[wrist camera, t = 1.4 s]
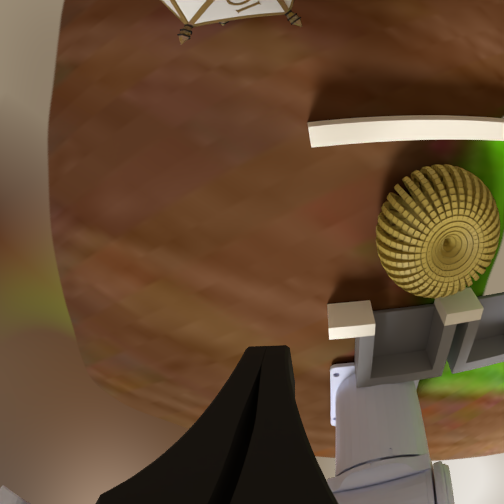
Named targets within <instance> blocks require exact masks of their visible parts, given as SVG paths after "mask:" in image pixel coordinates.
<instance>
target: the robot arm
mask: <svg viewBox="0 0 504 504" xmlns="http://www.w3.org/2000/svg"><path fill="white" fill-rule="evenodd" d="M418 383H419V380H415V381H408V382H401V383H394V384H381V385H375V386H370V387H360V388H357V387H356V377H355V362H353V363H342V364H334V365H332V366H331V367H330V386H331V425H333V426H336V472H335V473H336V474H335V477H333V478H328V479H327V481H326V479H325V477H324V475H323V473H322V471H321V469H320V467H319V464H318V462H317V460H316V458H315V455H314V453H313V451H312V448H311V446H310V443H309V441H308V438H307V435H306V433H305V430H304V427H303V424H302V421H301V418H300V415H299V411H298V408H297V404H296V401H295V380H294V373H293V367H292V360H291V354H290V348H289V347H288V346H286V345H283V346H256V347H248V348H247V349H246V350H245V352H244V354H243V356H242V358H241V359H240V361H239V363H238V364H237V366H236V368H235V369H234V371H233V373H232V374H231V376H230V377H229V379H228V380H227V382H226V383H225V385H224V386H223V388H222V389H221V390H220V392H219V393H218V395H217V396H216V397H215V399H214V400H213V401H212V403H211V404H210V405H209V407H208V408H207V409H206V410H205V412H204V413H203V414H202V415H201V417H200V418H199V419H198V420H197V421H196V422H195V423H194V425H193V426H192V427H191V428H190V429H189V430H188V431H187V432H186V433H185V434H184V435H183V436H182V437H181V438H180V439H179V440H178V441H177V442H176V443H175V444H174V445H173V446H172V447H170V448H169V449H168V450H167V451H166V452H165V453H164V454H162V455H161V456H160V457H159V458H158V459H156V460H155V461H154V462H152V463H151V464H150V465H148V466H147V467H145V468H144V469H143V470H141V471H140V472H138V473H137V474H136V475H134V476H133V477H131V478H130V479H128V480H126V481H125V482H123V483H121V484H119V485H118V486H116V487H114V488H113V489H111V490H109V491H107V492H105V493H103V494H101V495H100V497H99V499H98V500H97V502H96V504H454V497H453V490H452V483H451V477H450V471H449V467H448V465H445V464H442V462H441V461H439V462H436V463H434V464H433V465H432V462H431V459H430V456H429V451H428V445H427V439H426V434H425V429H424V424H423V419H422V414H421V409H420V405H419V400H418V396H417V391H416V389H417V386H418ZM433 467H434V468H433ZM0 504H30V503H28V502H27V501H25V500H24V499H22V498H21V497H19V496H18V495H16V494H15V493H14V492H12V491H11V490H9V489H8V488H7V487H5V486H2V487H1V489H0Z"/></svg>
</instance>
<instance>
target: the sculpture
mask: <svg viewBox="0 0 504 504" xmlns="http://www.w3.org/2000/svg"><path fill="white" fill-rule="evenodd" d="M426 173H427V174H426ZM411 175H412V176H411V177H412V178H411V179H412V180H411V179H410V178H409V177H408V176H406V177H404V178H403V179H402V181H403V182H404V185H405V186H406V188H407V190H408V191H409V192H410V194H411V195H412V197H413V198H412V197H411V196H410V195H409V194H408V193H407V192H406V191H405V190H404V189H403V188H402V187H401V186H400V185H399V184H396V186H395V187H394V189H395V190H396V191H397V192H398V193H399V195H400V196H401V197H402V198H403V199H402V198H401V197H400V196H398V195H395V194H394V193H392V192H390V193H389V194H388V196H387V200H388V202H385V203H383V205H382V207H381V210H382V212H380V214H379V216H378V224H377V226H376V234H377V237H376V245H377V251H378V255H379V258H380V260H381V264H382V266H383V268H384V269H385V270H386V272H387V274H388V276H390V278H391V279H392V280H393V281H394V282H395V283H396V284H397V285H398V286H399V287H401V288H402V289H403V290H406V291H407V292H409V293H412V294H414V295H416V296H421V297H424V298H438V297H447V296H449V295H454V294H456V293H457V292H458V291H459V292H461V291H463V290H465V287H466V286H465V284H466V285H467V286H468V287H469V286H471V285H472V284H473V283H472V280H471V277H470V275H471V276H472V277H473V278H474V280H475V281H477V280H478V279H479V278H480V277H479V276H478V274H477V273H476V272H475V271H478V273H480V274H483V273H484V272H485V271H486V269H485V267H488V266H489V265H490V263H491V258H492V259H493V257H494V255H495V252H496V251H495V250H496V249H497V246H498V242H499V241H498V239H499V236H500V219H499V212H498V208H497V206H496V202H495V199H494V198H493V196H492V195H491V192H490V190H489V189H488V187H486V185H485V184H484V183H483V182H482V181H481V180H480V179H479V178H478V177H476V176H475V175H474V174H473V173H471V172H470V171H467V170H464V169H463V168H461V167H458V166H452V165H449V164H443V165H440V164H435V165H432V166H431V167H429V166H427V167H426V166H425V167H424V168H423V167H422V168H421V170H420V171H418V170H415V171H413V172H412V173H411ZM426 175H427V176H428V177H427V179H426ZM441 176H442V177H441ZM461 177H462V178H461ZM418 182H420V183H421V184H420V185H421V188H420V185H419V183H418ZM432 184H433V185H432ZM463 184H464V185H463ZM432 187H433V188H432ZM421 189H422V190H421ZM421 191H422V192H421ZM438 196H439V197H438ZM413 199H414V200H415V201H416V202H415V201H414V200H413ZM400 204H402V205H403V206H406V207H403V206H402V205H400ZM432 206H433V207H432ZM389 209H394V210H393V211H391V210H389ZM396 210H397V211H396ZM476 213H477V214H478V215H477V214H476ZM426 214H427V215H426ZM386 217H387V218H386ZM400 217H401V218H400ZM385 218H386V219H385ZM477 222H478V223H477ZM392 224H393V225H392ZM411 225H412V226H411ZM392 247H393V249H392ZM400 249H401V250H400ZM463 255H464V256H463ZM468 272H469V273H470V275H469V273H468Z"/></svg>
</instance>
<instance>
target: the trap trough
mask: <svg viewBox="0 0 504 504" xmlns="http://www.w3.org/2000/svg"><path fill="white" fill-rule="evenodd" d="M307 123H308V129H309V136H310V142H311V147H321V146H331V145H342V144H354V143H367V142H383V141H404V140H451V139H454V140H499V141H504V118H492V117H476V116H449V115H406V116H378V117H361V118H347V119H335V120H324V121H315V122H307ZM327 309H328V326H329V340H330V339H342V338H353V337H355V359H354V362H355V377H356V387H357V388H360V387H370V386H375V385H381V384H394V383H401V382H408V381H415V380H421V379H427V378H432V377H438V376H441V375H442V372H443V369H444V366H445V363H446V360H447V361H448V364H449V366H450V369H451V372H452V374H453V373H458V372H463V371H467V370H471V369H476V368H480V367H484V366H488V365H492V364H496V363H500V362H503V361H504V292H502V293H497V294H492V295H486V296H480V297H477V296H476V295H475V293H474V292H473V290H472V289H471V287H470V288H465V290H463V291H461V292H459V291H458V292H457V293H456V294H454V295H449V296H447V297H438V298H435V301H434V304H427V305H420V306H412V307H404V308H395V309H387V310H378V311H372V307H371V302H370V300H366V301H356V302H345V303H334V304H327Z"/></svg>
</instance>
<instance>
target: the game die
mask: <svg viewBox="0 0 504 504" xmlns="http://www.w3.org/2000/svg"><path fill="white" fill-rule="evenodd" d="M161 1H162V2H163V3H164V4H165V5H166V6H167V7H168V8H169V9H170V10H171V11H172V12H173V13H174V14H175V15H176V16H177V17H178V18H179V19H180V20H181V21H182V22H183V23H184V24H185V26H184V27H183V29H180V31H181V32H180V34H178V36H179V39H180V43H181V44H183V43H184V42H185V41H187V40H188V39H190V34H191V35H192V31H191V29H192V28H193V27H197V26H202V25H207V24H212V23H218V22H219V23H220V24H222V25H223V26H224V25H225V24H226V23H228V22H229V21H230V20H237V19H245V18H253V17H262V16H273V15H286V16H287V18H288V21H290V22H291V25H292V24H294V25H297V26H301V27H302V24H301V19H300V18H301V17H299V16H297V13H296V14H295V13H293V12H292V11H291V9H292V6H293V3H294V0H161Z"/></svg>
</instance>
